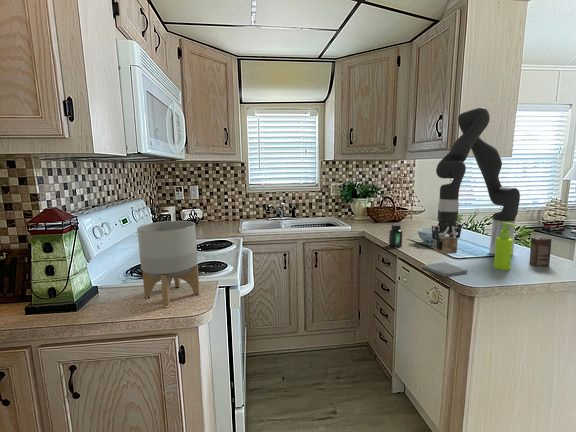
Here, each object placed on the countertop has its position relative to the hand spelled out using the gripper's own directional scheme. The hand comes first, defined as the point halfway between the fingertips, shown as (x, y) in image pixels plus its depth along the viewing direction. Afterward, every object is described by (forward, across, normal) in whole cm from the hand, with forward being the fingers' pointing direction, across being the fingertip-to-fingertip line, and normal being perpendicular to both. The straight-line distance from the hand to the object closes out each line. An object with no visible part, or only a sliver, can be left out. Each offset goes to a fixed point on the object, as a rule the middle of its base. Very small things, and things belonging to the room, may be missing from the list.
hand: (445, 248), depth 134 cm
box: (+10, -44, +9) cm, 46 cm away
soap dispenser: (+10, -25, +7) cm, 28 cm away
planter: (+10, +110, -14) cm, 111 cm away
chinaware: (+10, -28, -38) cm, 48 cm away
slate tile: (+10, 0, 0) cm, 10 cm away
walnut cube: (+1, 0, 0) cm, 1 cm away
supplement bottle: (+10, -6, -41) cm, 42 cm away
